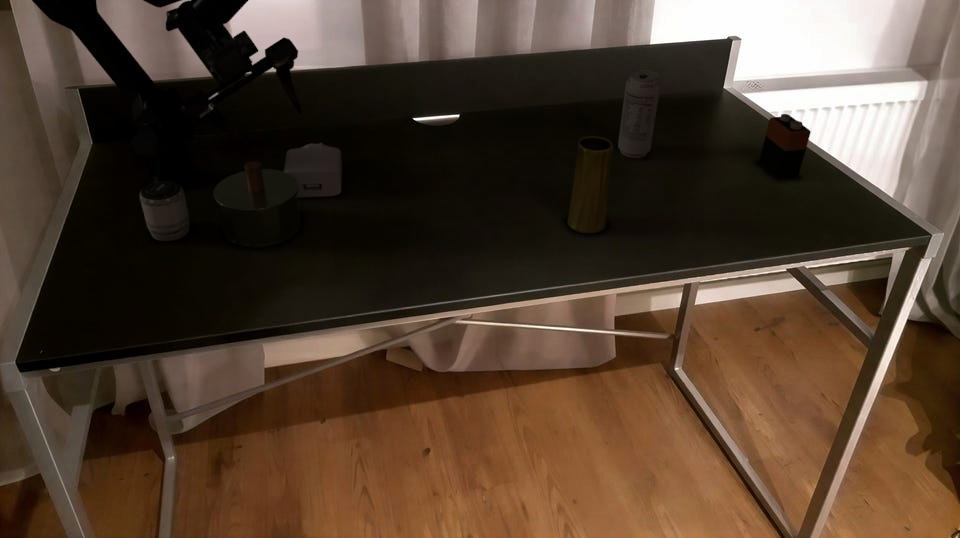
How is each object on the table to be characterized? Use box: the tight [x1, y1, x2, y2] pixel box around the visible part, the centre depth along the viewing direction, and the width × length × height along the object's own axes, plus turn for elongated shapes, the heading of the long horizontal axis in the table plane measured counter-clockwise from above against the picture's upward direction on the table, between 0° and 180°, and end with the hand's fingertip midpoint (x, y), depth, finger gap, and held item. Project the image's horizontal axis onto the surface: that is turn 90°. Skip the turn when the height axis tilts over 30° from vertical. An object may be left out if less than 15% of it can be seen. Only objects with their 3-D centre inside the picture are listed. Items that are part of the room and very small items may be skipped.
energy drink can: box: [617, 69, 661, 159], centre depth 145 cm, size 6×6×15 cm
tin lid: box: [213, 160, 299, 212], centre depth 120 cm, size 13×13×5 cm
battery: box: [759, 113, 812, 180], centre depth 141 cm, size 4×7×10 cm, turn 14°
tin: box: [217, 195, 301, 249], centre depth 123 cm, size 12×12×6 cm
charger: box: [283, 142, 343, 198], centre depth 138 cm, size 5×9×15 cm
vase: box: [566, 135, 614, 234], centre depth 123 cm, size 6×6×14 cm
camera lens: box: [138, 181, 191, 242], centre depth 121 cm, size 6×6×8 cm
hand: (275, 130), depth 119 cm, fingers open, 9 cm apart
